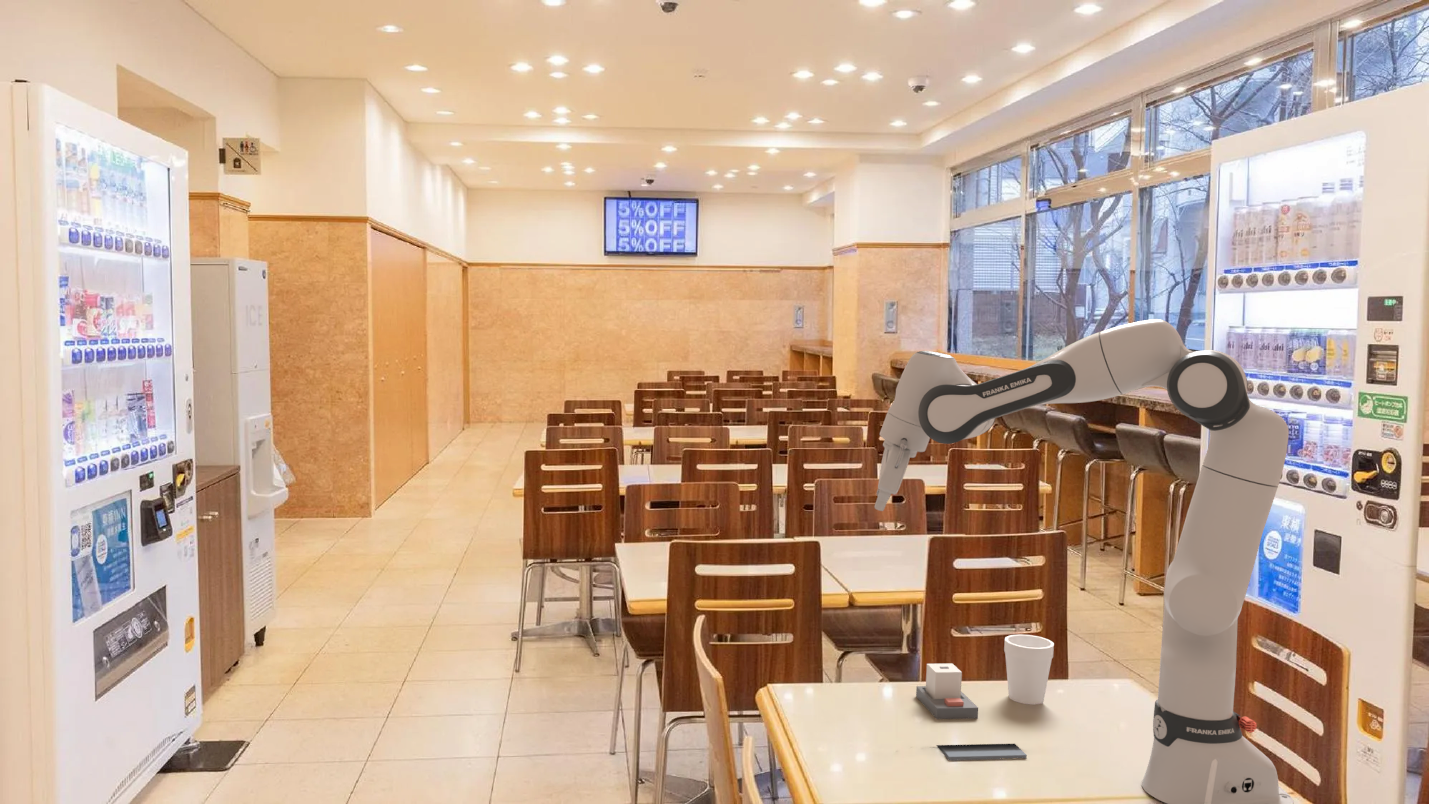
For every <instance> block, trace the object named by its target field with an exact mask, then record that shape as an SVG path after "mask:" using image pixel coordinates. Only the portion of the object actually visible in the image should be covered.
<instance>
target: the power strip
mask: <svg viewBox="0 0 1429 804" xmlns="http://www.w3.org/2000/svg"><path fill="white" fill-rule="evenodd" d="M915 690H916V691H915V696H916V698H917V699H918V700H919V701H920V702H921V703H922V705H924V707H925V708H926V710H928V711H929V712H930V713H931V715H932V716H933V717H934V718H935V719H936V720H953V719H956V720H957V719H958V720H959V719H960V720H961V719H962V720H965V719H967V720H968V719H969V720H970V719H978V718H979V716H978V715H979V707H978V705H976V703H974V702H973V701H972V700H971V699H970V698H969V697H968V696H967V695H966V694H965V693H964V692H963V691H961V699H960V698H945V699H932V698H931V697H930V696H929V695H928V694H927V693H926V685H924V686H923V685H917V686H916V689H915Z"/></svg>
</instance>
